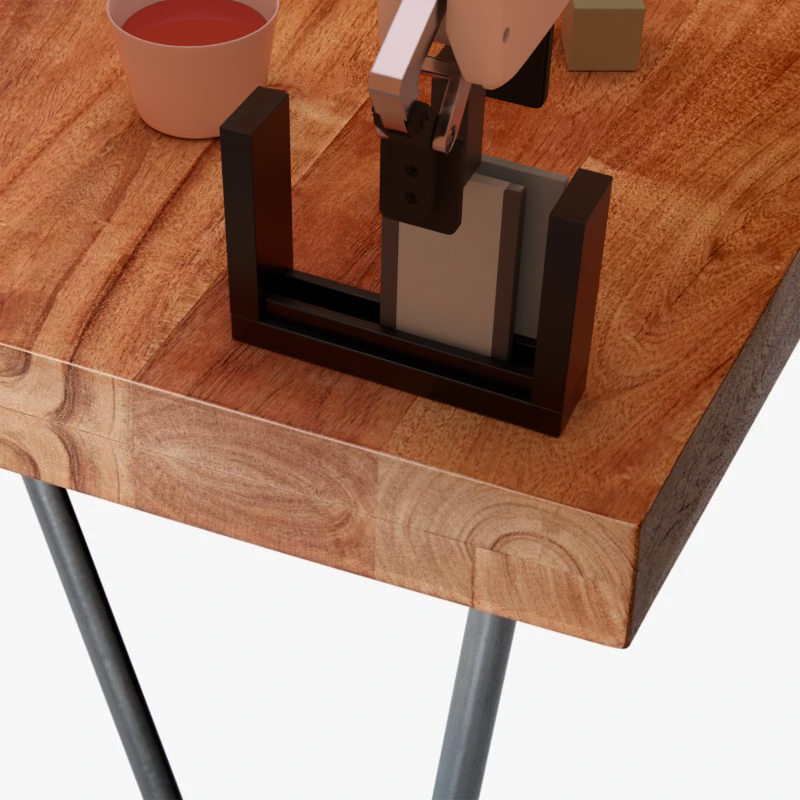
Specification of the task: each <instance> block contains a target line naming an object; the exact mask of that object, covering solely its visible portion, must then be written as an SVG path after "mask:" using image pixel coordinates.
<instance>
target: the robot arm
mask: <svg viewBox="0 0 800 800" xmlns="http://www.w3.org/2000/svg"><path fill="white" fill-rule="evenodd" d="M569 1H570V0H376V8H377V9H376V11H377V12H376V14H377V16H376V17H377V35H378V45H379V50H378V53H377V54H376V57H375V59H374V61H373V64H372V66H371V68H370V70H369V73H368V78H367V84H366V85H367V86H366V87H367V91H368V94H369V97H370V98H369V99H370V100H371V103H372V105H371V111H370V113H371V112H372V114H371V117H372V119H373V120H372V121H373V124H374V126H375V134H376V136H377V138H379V189H378V190H379V194H378V195H379V197H378V209H379V212H380V214H381V216H382V215H383V216H384V217H386V218H388V219H391V220H395V221H398V222H402V223H406V224H409V225H413V226H417V227H420V228H424V229H428V230H431V231H435V232H439V233H442V234H446V235H452V234H454V233H455V232H456V231H457V229H458V228H459V226H460V225H461V222H462V205H463V188H464V170H465V152H466V141H462V140H459V139H456V138H457V134H458V130H459V127H460V123H461V120H462V116H463V113H464V109H465V106H466V102H467V98H468V95H469V91H470V88H471V84H472V83H474V84H478V85H482V86H483V88H484V89H486V96H485V98H489V99H494V100H498V101H501V102H505V103H509V104H514V105H518V106H522V107H525V108H526V107H527V108H530V109H538V110H539V109H541V108H543V106H544V104H545V103H546V102H547V100H548V96H549V89H550V78H551V67H552V56H553V46H554V45H553V44H554V35H555V25H556V21H557V19H558V18H559V17H560V16H561V14H562V13H563V10H564V8H565V7H566V5H567V4H568V2H569ZM433 43H437V44H442V45H444V46H445V45H449V46H451V47H452V50H453V53H454V56H455V58H456V61H457V62H453V61H449V60H445V59H440V58H436V56H432V55H428V54H429V52H430V50H431V47H432V46H433ZM420 76H424V77H428V78H431V79H432V78H436V79H440V80H444V81H448V84H447V87H446V91H445V95H444V98H443V102H442V105H441V109H440V112H439V115H438V114H437V113H436V112H435V111H434V110H433V109H432V108H431V105H429V103H427V102H425V101H421V100H419V98H418V97H419V95H420V89H419V88H420V87H419V78H420Z"/></svg>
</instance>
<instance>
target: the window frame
mask: <svg viewBox="0 0 800 800" xmlns="http://www.w3.org/2000/svg"><path fill="white" fill-rule="evenodd" d="M290 114H291V113H290V93H288V92H285V91H281V90H277V89H273V88H270V87H267V86H266V87H262V86H257V88H256V89H255V90H254V91H253V92H252V93H251V94H250V95H249V96H248V97H247V98H246V99H245V100H244V101H243V102H242V103H241V104H240V105H239V107H238V108H237V109H236V110H235V111H234V112H233V113H232V114H231V115H230V116H229V117H228V118H227V119H226V120H225V121H224V122H223V123H222V124H221V125H220V127H219V130H220V136H219V145H220V147H219V148H220V162H221V164H220V165H221V180H222V181H221V182H222V195H223V196H222V197H223V212H224V213H223V214H224V230H225V246H226V249H225V250H226V264H227V281H228V283H227V284H228V294H229V295H228V299H229V313H230V327H231V338H232V339H233V340H236V341H239V342H242V343H246V344H249V345H252V346H255V347H259V348H261V349H262V348H263V349H265V350H269V351H271V352H275V353H279V354H282V355H284V356H288V357H292V358H295V359H298V360H301V361H303V362H307V363H311V364H315V365H318V366H321V367H324V368H328V369H331V370H334V371H337V372H340V373H344V374H348V375H351V376H355V377H358V378H360V379H364V380H367V381H370V382H373V383H376V384H380V385H384V386H387V387H391V388H392V389H393V388H394V389H397V390H400V391H403V392H407V393H409V394H410V393H411V394H413V395H416V396H420V397H423V398H426V399H429V400H433V401H435V402H439V403H442V404H446V405H449V406H452V407H456V408H459V409H462V410H465V411H469V412H472V413H476V414H478V415H482V416H485V417H489V418H492V419H495V420H499V421H502V422H505V423H508V424H509V423H510V424H512V425H515V426H518V427H521V428H524V429H528V430H531V431H534V432H538V433H541V434H544V435H547V436H551V437H554V438H560V437H561V436H562V434H563V432H564V430H565V428H566V426H567V424H568V423H569V420H570V418H571V417H572V414H573V413H574V411H575V409H576V407H577V405H578V403H579V401H580V400H581V398H582V396H583V394H584V392H585V390H586V386H587V379H588V371H589V363H590V356H591V349H592V341H593V335H594V333H593V332H594V327H595V318H596V311H597V304H598V296H599V289H600V288H599V287H600V280H601V273H602V264H603V258H604V249H605V242H606V235H607V226H608V220H609V212H610V205H611V195H612V187H613V182H614V181H613V180H614V176H613V175H610V174H607V173H602V172H598V171H595V170H590V169H588V168H587V169H586V168H582V167H578V168H577V170H576V171H575V173H574V174H573V175H572V177H571V179H570V176H569V175H567V174H562V173H559V172H555V171H551V170H547V169H543V168H540V167H535V166H532V165H528V164H524V163H519V162H515V161H512V160H508V159H504V158H502V157H501V158H500V157H496V156H493V155H489V154H485V153H482V156H481V164H480V166H479V167H478V168H477V170H476V171H475V173H476V174H480V175H484V176H488V177H492V178H495V179H499V180H503V181H507V182H512V183H516V184H520V185H524V186H526V187H527V192H526V203H525V215H524V226H523V237H522V248H521V259H520V270H519V281H518V293H517V304H516V315H515V326H514V337H513V348H512V358H511V360H510V362H505V361H502V360H499V359H495V358H492V357H488V356H485V355H482V354H478V353H475V352H471V351H468V350H465V349H461V348H458V347H454V346H451V345H447V344H444V343H441V342H437V341H434V340H430V339H427V338H424V337H420V336H417V335H413V334H410V333H407V332H403V331H400V330H396V329H393V328H390V327H386V326H383V325H380V293H378V292H375V291H371V290H369V289H368V290H367V289H365V288H361V287H357V286H353V285H350V284H348V283H347V284H346V283H343V282H340V281H336V280H333V279H330V278H326V277H322V276H319V275H316V274H313V273H308V272H305V271H301V270H299V269H295V268H294V235H293V234H294V232H293V199H292V198H293V195H292V193H293V191H292V189H293V188H292V159H291V157H292V156H291V155H292V153H291V152H292V151H291V119H290V118H291V115H290Z"/></svg>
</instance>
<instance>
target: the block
mask: <svg viewBox="0 0 800 800" xmlns="http://www.w3.org/2000/svg"><path fill="white" fill-rule="evenodd" d="M646 9H647V8H646V5H645V3H644V0H570V1H569V2H568V4H567V5H566V7H565V8H564V10H563V11H562V17H561V27H560V40H561V43H562V48H563V53H564V58H565V62H566V63H565V64H566V67H567V70H568V71H570V72H571V71H573V72H574V71H575V72H576V71H577V72H580V71H581V72H583V71H586V72H588V71H589V72H591V71H593V72H594V71H595V72H596V71H599V72H600V71H602V72H603V71H604V72H606V71H607V72H609V71H610V72H611V71H612V72H615V71H619V72H620V71H621V72H624V71H625V72H630V71H631V72H634V71H635V72H636V71H638V69H639V68H638V67H639V60H640V53H641V44H642V38H643V31H644V23H645V16H646Z"/></svg>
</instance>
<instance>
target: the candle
mask: <svg viewBox="0 0 800 800" xmlns="http://www.w3.org/2000/svg"><path fill="white" fill-rule="evenodd" d="M105 7H106V9H105V10H106V16H107V19H108V22H109V25H110V30H111V32H112V35H113V39H114V42H115V45H116V48H117V51H118V55H119V58H120V62H121V65H122V68H123V70H124V75H125V77H126V81H127V84H128V87H129V91H130V94H131V96H132V100H133V103H134V106H135V108H136V110H137V113H138V115H139V117H140V118H141V119H142V121H144V123H145V124H146V125H148V126H149V127H150V128H152V129H154V130H156V131H158V132H159V133H162V134H164V135H167V136H171V137H175V138H183V139H195V140H196V139H197V140H198V139H199V140H200V139H202V140H203V139H210V138H211V139H212V138H218V137H220V130H219V127H220V125H221V124H222V123H223V122H224V121H225V120H226V119H227V118H228V117H229V116H230V115H231V114H232V113H233V112H234V111H235V110H236V109H237V108H238V107H239V105H240V104H241V103H242V102H243V101H244V100H245V99H246V98H247V97H248V96H249V95H250V94H251V93H252V92H253V91H254V90H255V89H256V88H257V86H262V87H266V88H267V85H268V79H269V73H270V69H271V63H272V61H271V60H272V57H273V56H272V55H273V49H274V43H275V38H276V37H275V36H276V31H277V26H278V25H277V24H278V17H279V12H280V0H106V4H105Z"/></svg>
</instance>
